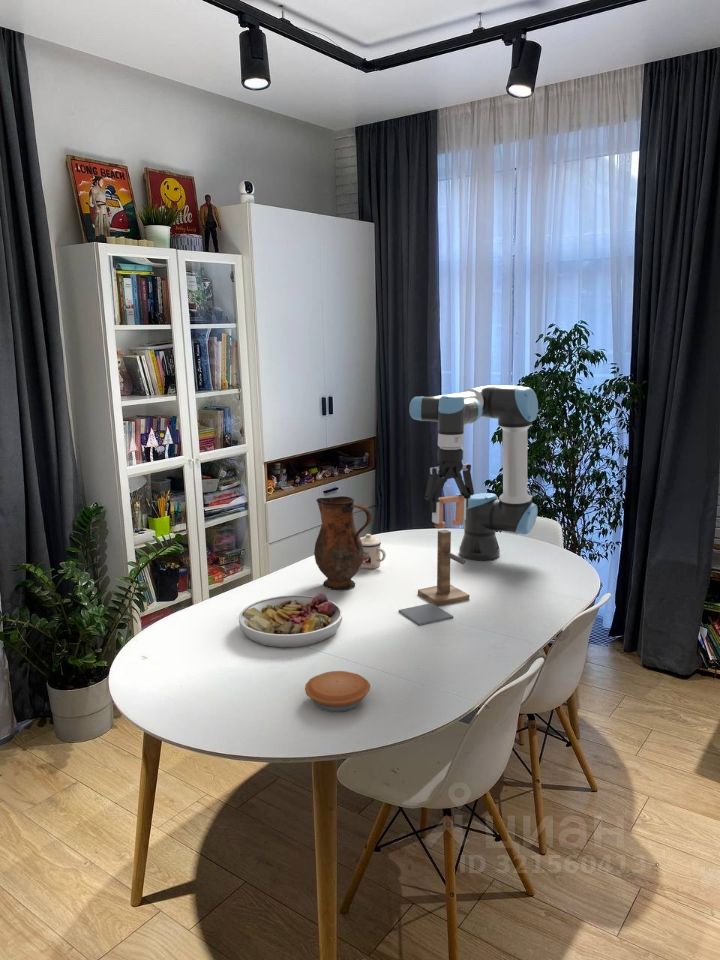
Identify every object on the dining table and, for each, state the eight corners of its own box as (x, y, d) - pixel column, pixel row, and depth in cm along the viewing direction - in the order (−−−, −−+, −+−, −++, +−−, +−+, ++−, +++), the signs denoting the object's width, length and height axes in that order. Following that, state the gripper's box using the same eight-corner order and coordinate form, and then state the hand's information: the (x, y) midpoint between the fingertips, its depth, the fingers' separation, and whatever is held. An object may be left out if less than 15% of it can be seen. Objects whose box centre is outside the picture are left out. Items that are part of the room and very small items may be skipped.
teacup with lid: (351, 566, 276) (350, 535, 274) (366, 559, 283) (366, 529, 281) (377, 572, 269) (377, 541, 266) (392, 565, 276) (392, 535, 273)
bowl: (287, 662, 201) (286, 634, 200) (218, 631, 221) (217, 606, 220) (363, 627, 223) (363, 602, 221) (294, 602, 243) (293, 579, 241)
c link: (459, 523, 234) (460, 494, 232) (463, 524, 232) (463, 496, 230) (434, 526, 230) (435, 498, 228) (438, 528, 228) (438, 499, 226)
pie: (373, 715, 174) (373, 695, 173) (305, 719, 173) (305, 699, 172) (367, 683, 189) (366, 664, 188) (304, 686, 188) (304, 668, 187)
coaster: (431, 604, 239) (431, 602, 239) (453, 617, 229) (453, 616, 228) (398, 611, 234) (398, 609, 234) (419, 625, 223) (419, 623, 223)
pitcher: (332, 573, 268) (330, 491, 262) (384, 584, 257) (383, 498, 250) (304, 587, 255) (301, 501, 248) (357, 600, 243) (356, 509, 237)
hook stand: (417, 593, 248) (418, 529, 243) (448, 587, 253) (449, 524, 249) (445, 611, 234) (446, 542, 229) (477, 604, 239) (479, 537, 234)
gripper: (426, 452, 218) (425, 528, 222) (487, 446, 227) (485, 518, 232) (412, 448, 224) (411, 522, 229) (472, 442, 234) (471, 513, 239)
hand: (449, 520), depth 230 cm, fingers closed on c link, 9 cm apart
